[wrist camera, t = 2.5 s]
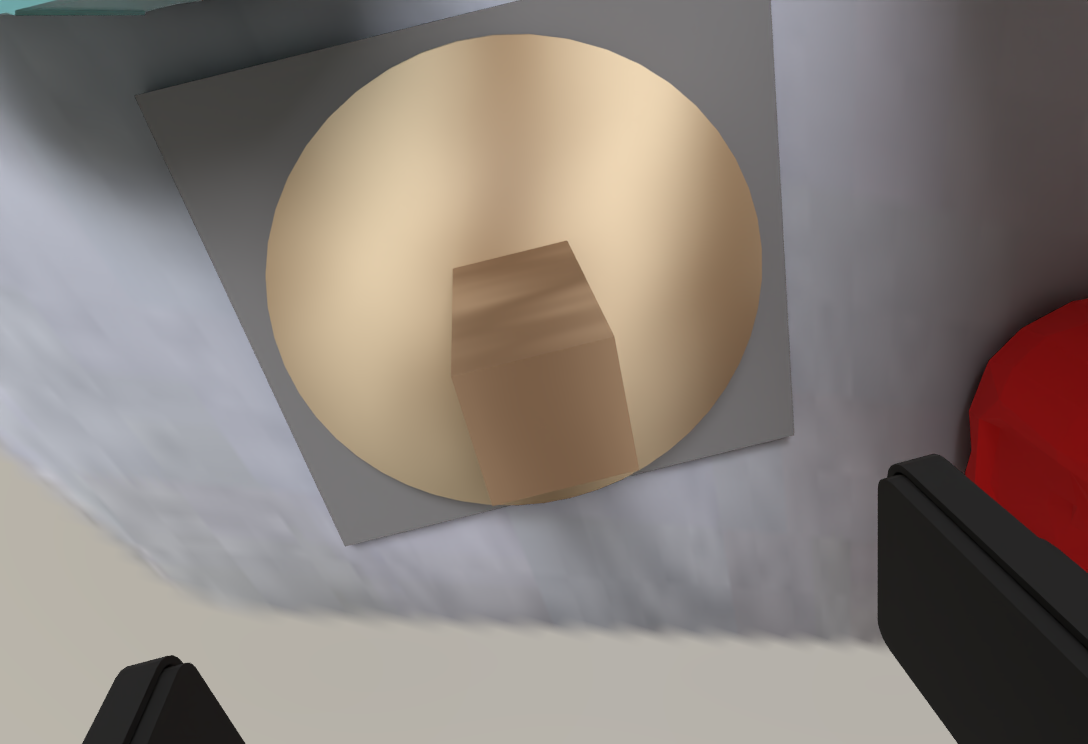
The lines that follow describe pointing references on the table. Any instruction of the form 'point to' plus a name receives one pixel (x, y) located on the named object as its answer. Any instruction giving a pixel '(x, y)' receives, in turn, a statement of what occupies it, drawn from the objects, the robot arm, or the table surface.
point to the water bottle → (1038, 429)
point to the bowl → (83, 7)
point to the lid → (513, 269)
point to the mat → (338, 72)
